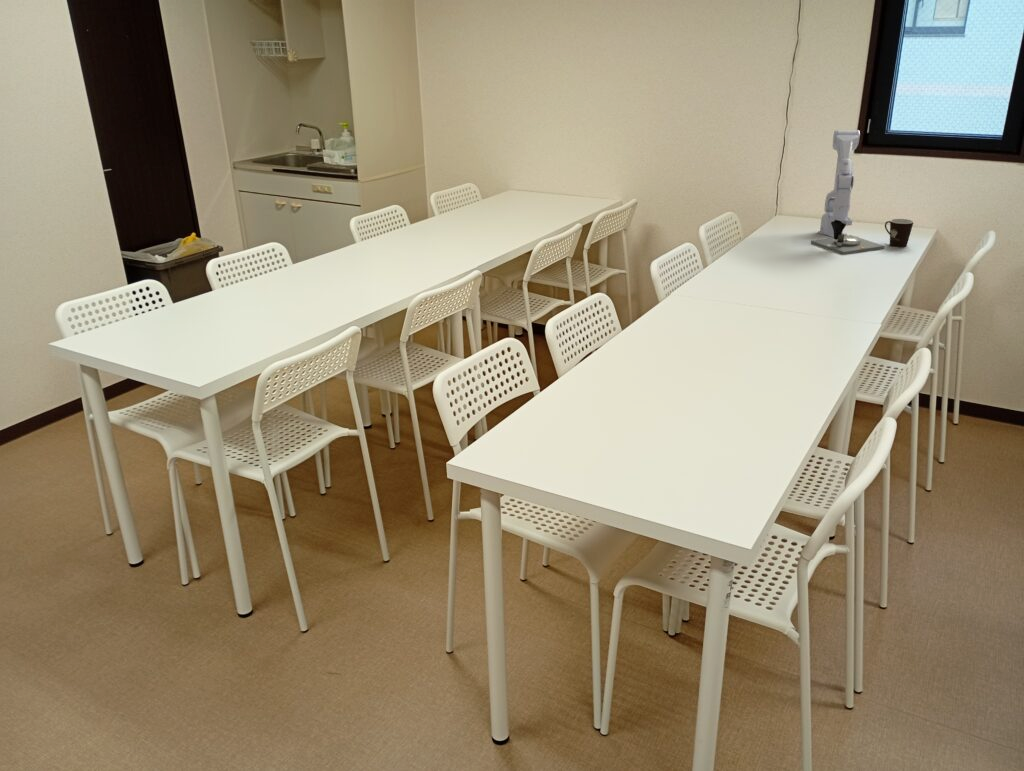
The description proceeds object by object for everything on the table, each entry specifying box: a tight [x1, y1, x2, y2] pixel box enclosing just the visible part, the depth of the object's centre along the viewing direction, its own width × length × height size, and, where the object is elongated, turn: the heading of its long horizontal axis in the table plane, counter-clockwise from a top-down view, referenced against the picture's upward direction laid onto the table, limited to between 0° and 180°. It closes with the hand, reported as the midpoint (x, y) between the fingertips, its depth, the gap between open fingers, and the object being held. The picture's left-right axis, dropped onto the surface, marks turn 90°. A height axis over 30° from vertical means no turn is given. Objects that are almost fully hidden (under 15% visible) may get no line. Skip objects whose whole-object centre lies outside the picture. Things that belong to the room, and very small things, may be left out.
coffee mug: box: [884, 218, 915, 248], centre depth 338 cm, size 12×9×10 cm
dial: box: [834, 232, 862, 246], centre depth 338 cm, size 13×10×5 cm
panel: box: [810, 234, 885, 256], centre depth 340 cm, size 20×20×2 cm
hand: (837, 239), depth 336 cm, fingers closed
